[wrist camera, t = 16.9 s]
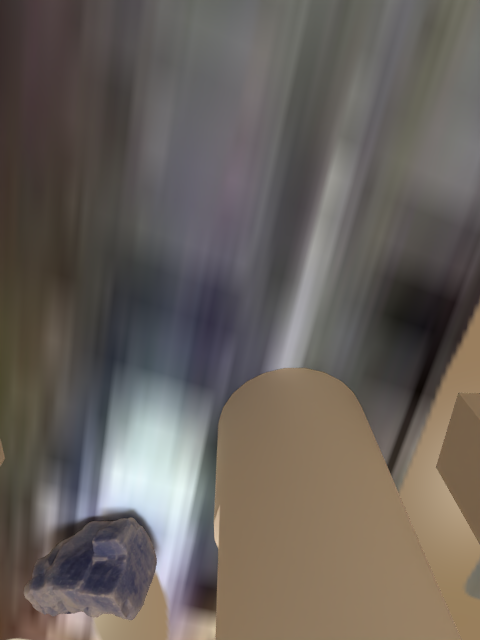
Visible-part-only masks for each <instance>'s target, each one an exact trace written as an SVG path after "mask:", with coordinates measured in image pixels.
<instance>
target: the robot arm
mask: <svg viewBox="0 0 480 640" xmlns="http://www.w3.org/2000/svg"><path fill="white" fill-rule="evenodd" d="M4 459H5V456H4V452H3V448H2V444H1V440H0V465H1V464H2V462H3V461H4ZM436 468H437V470H438V471H439V473H440V475H441V476H442V478H443V480H444V482H445V484H446V485H447V487H448V489H449V491H450V493H451V494H452V496H453V498H454V500H455V501H456V503H457V505H458V507H459V508H460V510H461V512H462V514H463V516H464V517H465V519H466V521H467V523H468V524H469V526H470V528H471V530H472V531H473V533H474V535H475V537H476V538H477V540H478V542H479V544H480V393H458V396H457V399H456V402H455V406H454V409H453V413H452V416H451V419H450V422H449V426H448V429H447V432H446V436H445V439H444V442H443V445H442V449H441V452H440V455H439V459H438V462H437V466H436Z"/></svg>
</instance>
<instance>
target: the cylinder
mask: <svg viewBox="0 0 480 640" xmlns="http://www.w3.org/2000/svg"><path fill="white" fill-rule="evenodd" d="M214 536H215V542H216V544H217V546H218V580H217V612H216V640H462V639H461V637H460V635H459V632H458V630H457V628H456V625H455V623H454V621H453V618H452V616H451V614H450V611H449V609H448V607H447V604H446V602H445V600H444V597H443V595H442V593H441V590H440V588H439V586H438V584H437V581H436V579H435V577H434V574H433V572H432V570H431V567H430V565H429V563H428V560H427V558H426V556H425V553H424V551H423V549H422V546H421V544H420V542H419V540H418V537H417V535H416V532H415V530H414V528H413V525H412V523H411V521H410V518H409V516H408V514H407V512H406V509H405V507H404V505H403V502H402V500H401V498H400V495H399V493H398V491H397V488H396V486H395V484H394V481H393V479H392V477H391V474H390V472H389V470H388V467H387V465H386V463H385V460H384V458H383V456H382V453H381V451H380V449H379V446H378V444H377V442H376V439H375V437H374V435H373V433H372V430H371V428H370V426H369V423H368V421H367V419H366V416H365V414H364V412H363V409H362V407H361V405H360V403H359V402H358V400H357V398H356V396H355V395H354V393H353V392H352V391H351V390H350V389H349V388H348V387H347V386H346V385H345V384H344V383H343V382H342V381H340V380H338V379H336V378H334V377H332V376H330V375H328V374H326V373H324V372H321V371H316V370H312V369H307V368H283V369H279V370H275V371H270V372H266V373H263V374H261V375H259V376H257V377H255V378H253V379H251V380H249V381H247V382H246V383H245V384H243V385H242V386H241V387H240V388H239V389H238V390H236V391H235V392H234V393H233V394H232V395H231V397H230V398H229V400H228V401H227V403H226V404H225V406H224V407H223V410H222V413H221V416H220V420H219V423H218V443H217V465H216V488H215V510H214Z"/></svg>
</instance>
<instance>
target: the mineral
mask: <svg viewBox="0 0 480 640" xmlns="http://www.w3.org/2000/svg"><path fill="white" fill-rule="evenodd" d="M156 565H157V558H156V554H155V551H154V548H153V545H152V543H151V540H150V538H149V536H148V534H147V533H146V532H145V530H144V529H143V526H141V525H139V524H138V523H137V522H136V520H135V519H134V518H128V519H126V518H121V519H119V520H117V521H110V522H109V521H92V522H89V523H88V524H86V525H85V526H84V528H83V529H82V530H81V531H79V532H77V533H76V534H75V535H74V536H72V537H70V538H68V539H64V540H63V541H61V542H60V543H59V544H57V545H56V547H54V548H53V549H52V551H51V552H50V553H49V554H48V555H47V556H45V557H43V558H40V559H38V561H37V562H36V564H35V566H34V570H33V578H32V580H30V581H29V582H28V584H27V585H26V586H25V589H24V595H25V598H26V599H28V600H29V601H30V603H31V604H32V605H33V607H34V608H35V609H36V610H37V611H39V612H41V613H43V614H44V615H45V614H50V615H52V616H56V615H58V614H71V613H77V612H80V611H82V612H85V613H86V614H87V615H88V616H90V617H98V616H99V615H101V614H103V613H104V614H114V615H115V616H118V617H121V618H123V619H128V620H133V619H134V618H135V616H136V615H137V614H138V612H139V611H140V609H141V607H142V606H143V604H144V601H145V597H146V595H147V592H148V589H149V586H150V584H151V582H152V579H153V576H154V573H155V569H156Z"/></svg>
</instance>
